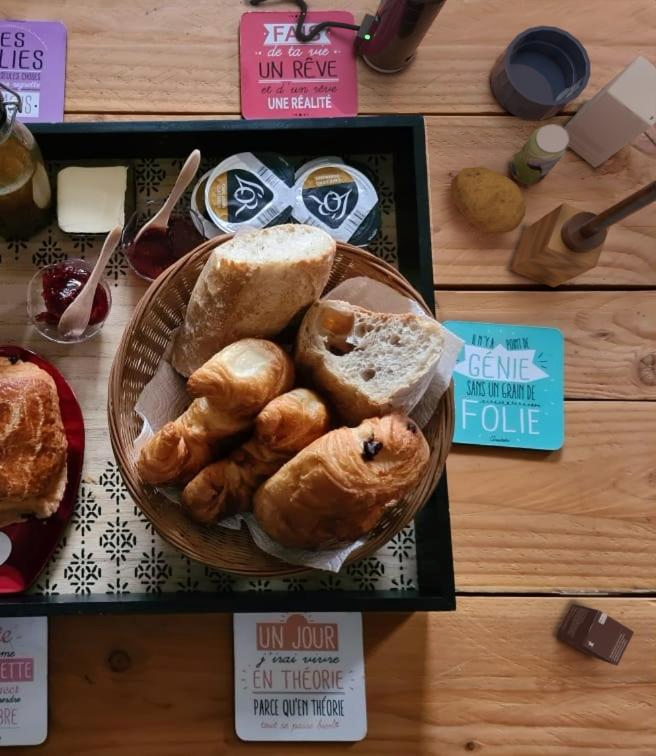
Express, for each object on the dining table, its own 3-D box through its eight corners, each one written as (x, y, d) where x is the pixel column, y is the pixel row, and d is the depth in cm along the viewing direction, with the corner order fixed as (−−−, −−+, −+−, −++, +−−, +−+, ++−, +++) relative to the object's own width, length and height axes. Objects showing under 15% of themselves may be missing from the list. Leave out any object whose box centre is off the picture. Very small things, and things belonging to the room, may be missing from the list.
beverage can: (543, 187, 128) (584, 157, 116) (501, 186, 128) (537, 156, 116) (541, 153, 129) (581, 120, 117) (500, 152, 129) (535, 119, 117)
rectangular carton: (625, 134, 130) (687, 89, 115) (594, 169, 129) (652, 128, 114) (585, 101, 131) (641, 52, 116) (554, 136, 130) (606, 90, 115)
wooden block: (509, 269, 126) (547, 247, 114) (524, 228, 127) (563, 202, 115) (553, 287, 126) (596, 267, 114) (568, 246, 127) (612, 221, 115)
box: (588, 656, 117) (617, 667, 109) (554, 635, 117) (581, 645, 110) (605, 622, 117) (635, 631, 110) (572, 602, 118) (600, 609, 111)
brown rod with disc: (555, 244, 114) (651, 187, 92) (567, 210, 115) (665, 146, 93) (592, 258, 114) (697, 205, 92) (604, 225, 115) (710, 164, 93)
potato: (498, 140, 120) (458, 171, 118) (551, 203, 119) (511, 235, 117) (467, 165, 129) (429, 195, 127) (516, 224, 128) (478, 254, 126)
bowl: (477, 104, 130) (493, 85, 124) (504, 34, 132) (521, 13, 126) (555, 134, 130) (575, 117, 124) (581, 64, 132) (601, 44, 126)
